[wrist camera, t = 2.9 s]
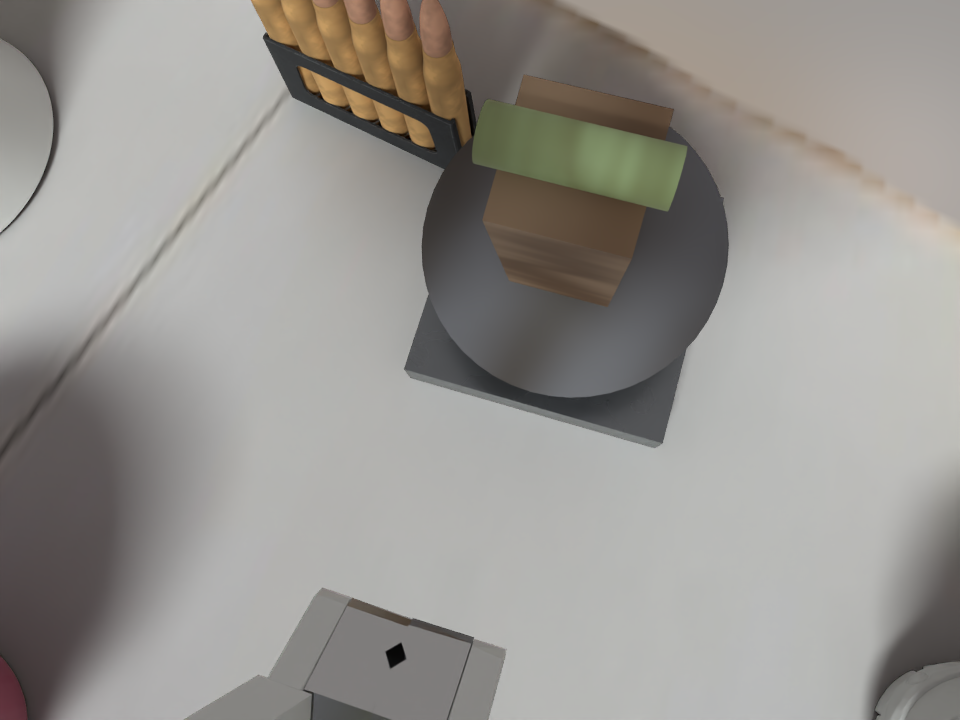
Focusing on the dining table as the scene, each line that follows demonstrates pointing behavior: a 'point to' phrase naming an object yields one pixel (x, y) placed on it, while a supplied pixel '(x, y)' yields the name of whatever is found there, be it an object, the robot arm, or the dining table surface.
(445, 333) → the stand
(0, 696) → the plant pot
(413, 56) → the ammunition clip
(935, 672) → the mug
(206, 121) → the dining table surface
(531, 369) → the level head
